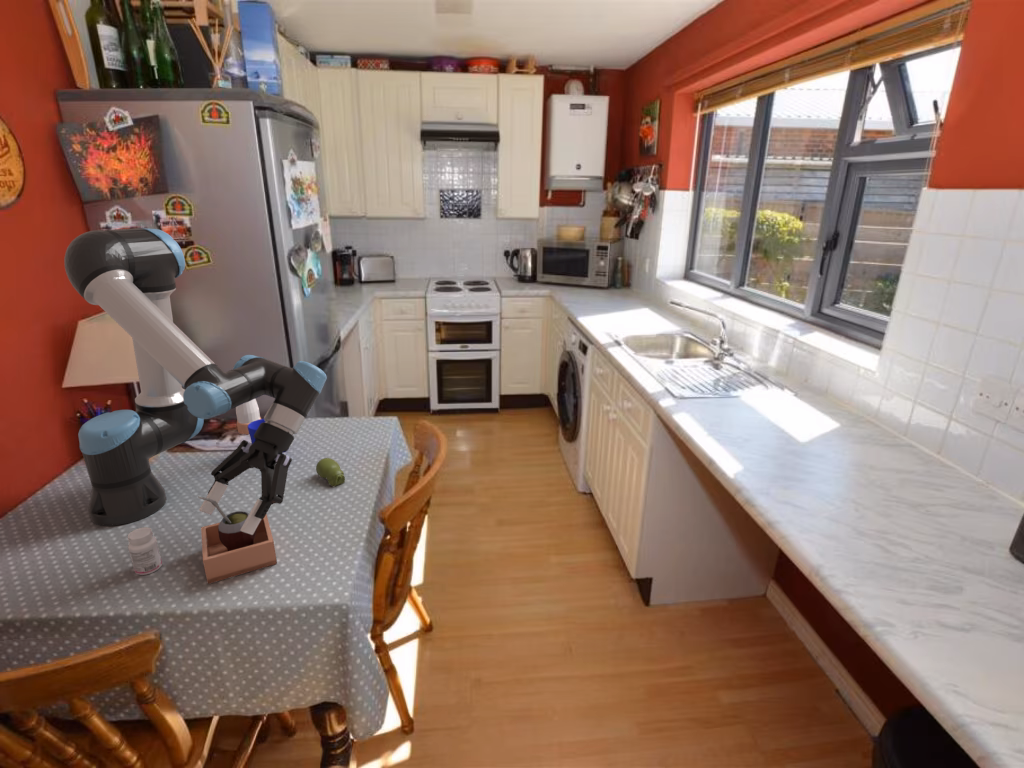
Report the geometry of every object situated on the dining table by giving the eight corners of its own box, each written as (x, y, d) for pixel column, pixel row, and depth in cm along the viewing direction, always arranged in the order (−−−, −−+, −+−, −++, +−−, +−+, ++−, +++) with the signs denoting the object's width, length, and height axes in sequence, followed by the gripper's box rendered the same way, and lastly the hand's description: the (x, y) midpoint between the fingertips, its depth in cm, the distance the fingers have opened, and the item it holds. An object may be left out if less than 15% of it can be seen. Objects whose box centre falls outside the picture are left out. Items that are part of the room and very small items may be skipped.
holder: (207, 584, 103) (202, 560, 102) (205, 549, 114) (201, 527, 112) (277, 563, 110) (273, 541, 108) (269, 532, 120) (265, 511, 118)
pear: (330, 452, 146) (350, 469, 140) (330, 468, 148) (350, 485, 142) (311, 458, 142) (331, 476, 136) (312, 474, 144) (331, 493, 138)
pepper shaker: (233, 433, 169) (223, 376, 162) (247, 424, 176) (238, 369, 169) (253, 435, 168) (244, 378, 161) (267, 426, 174) (259, 371, 168)
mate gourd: (266, 542, 114) (256, 481, 109) (241, 566, 107) (229, 501, 102) (236, 537, 116) (225, 477, 111) (209, 560, 109) (196, 496, 104)
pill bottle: (143, 560, 110) (134, 526, 107) (167, 559, 110) (158, 525, 107) (129, 576, 105) (119, 540, 102) (154, 575, 106) (145, 539, 103)
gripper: (330, 448, 111) (278, 546, 104) (254, 423, 123) (203, 509, 116) (307, 434, 105) (250, 537, 98) (229, 409, 117) (173, 499, 110)
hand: (224, 522), depth 107 cm, fingers open, 13 cm apart
